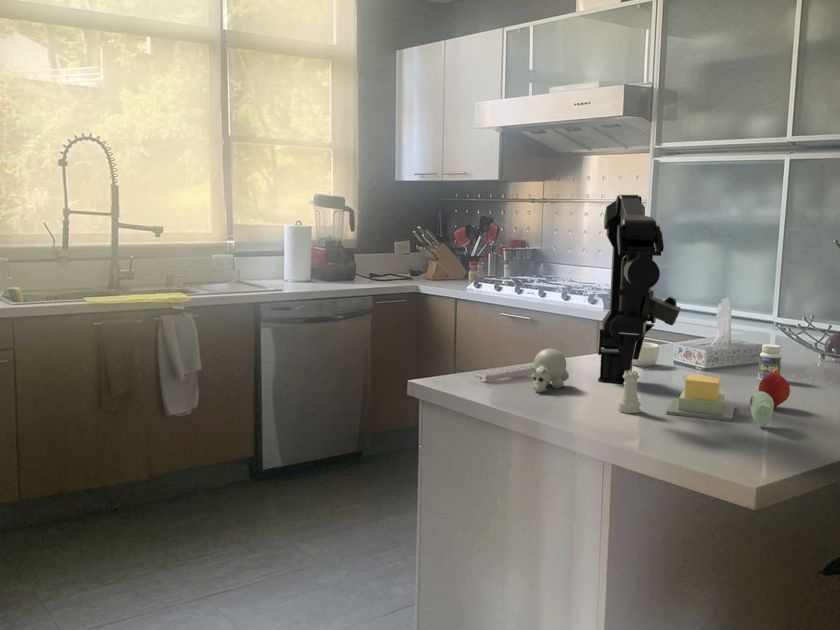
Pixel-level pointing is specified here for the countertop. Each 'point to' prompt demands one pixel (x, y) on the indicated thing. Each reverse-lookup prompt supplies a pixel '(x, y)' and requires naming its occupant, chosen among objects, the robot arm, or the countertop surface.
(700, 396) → the ochre brick
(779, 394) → the onion
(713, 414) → the baseplate
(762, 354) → the pill bottle
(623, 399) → the rook chess piece
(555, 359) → the cream plastic animal figure
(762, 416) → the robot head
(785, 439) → the countertop surface
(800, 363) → the countertop surface
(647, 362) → the teacup
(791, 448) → the countertop surface
